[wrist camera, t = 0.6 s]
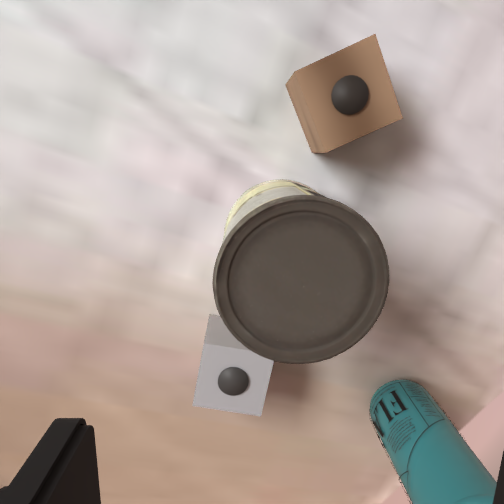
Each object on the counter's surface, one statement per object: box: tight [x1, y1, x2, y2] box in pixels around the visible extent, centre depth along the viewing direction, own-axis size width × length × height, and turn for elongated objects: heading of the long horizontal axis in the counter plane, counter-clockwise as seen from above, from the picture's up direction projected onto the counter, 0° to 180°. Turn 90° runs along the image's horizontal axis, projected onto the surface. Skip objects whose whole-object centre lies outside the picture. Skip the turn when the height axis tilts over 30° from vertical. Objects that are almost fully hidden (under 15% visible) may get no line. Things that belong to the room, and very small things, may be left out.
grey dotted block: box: [192, 314, 274, 416], centre depth 37 cm, size 6×6×6 cm
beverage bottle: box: [369, 380, 497, 504], centre depth 32 cm, size 6×7×20 cm
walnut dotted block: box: [286, 34, 403, 153], centre depth 31 cm, size 6×6×6 cm
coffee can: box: [213, 180, 389, 364], centre depth 30 cm, size 10×10×14 cm
